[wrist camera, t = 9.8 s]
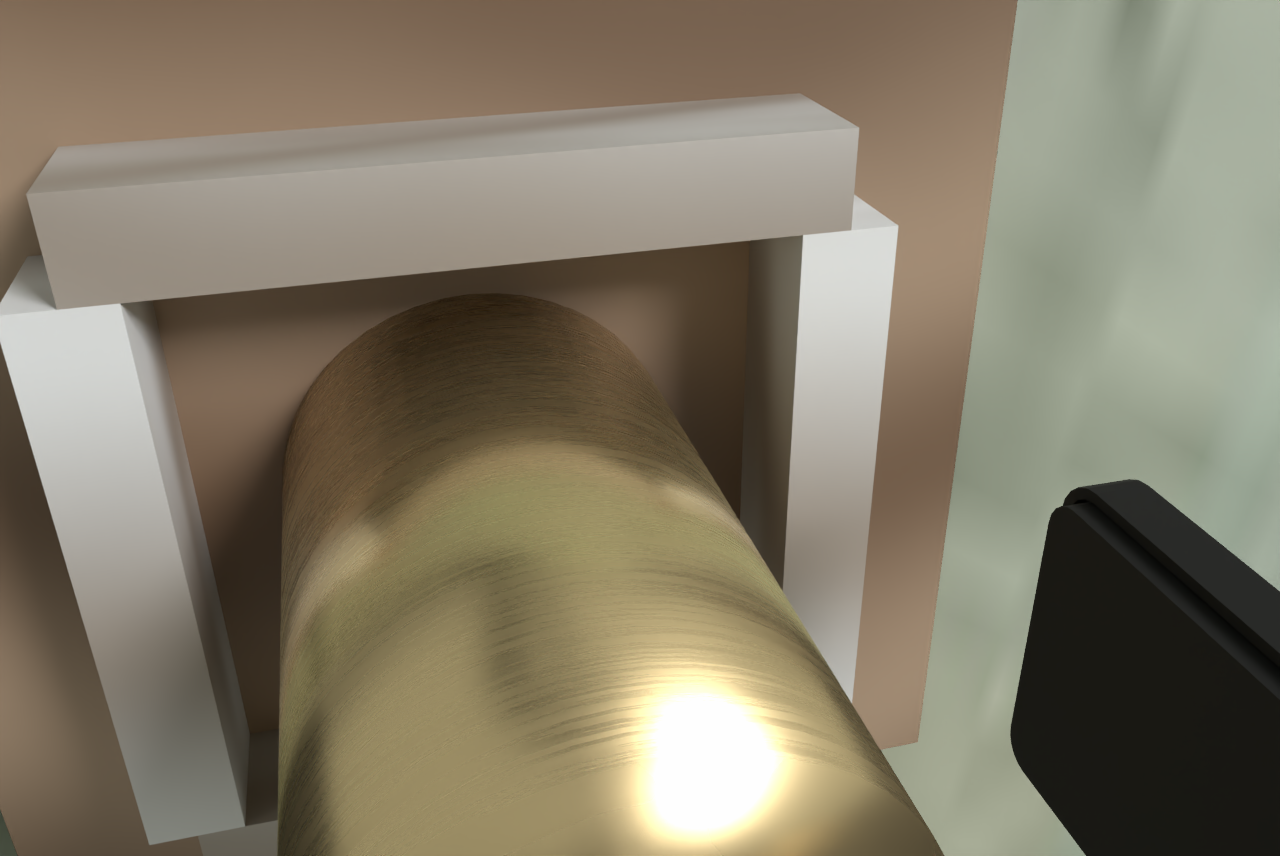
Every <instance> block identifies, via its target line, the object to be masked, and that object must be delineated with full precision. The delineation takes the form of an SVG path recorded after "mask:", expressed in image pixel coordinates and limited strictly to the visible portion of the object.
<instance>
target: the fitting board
mask: <svg viewBox="0 0 1280 856" xmlns="http://www.w3.org/2000/svg"><path fill="white" fill-rule="evenodd" d="M1017 1H1018V0H0V810H1V812H2V815H3V818H4V820H5V823H6V826H7V828H8V831H9V834H10V836H11V839H12V842H13V844H14V847H15V850H16V852H17V855H18V856H277V831H278V763H279V695H280V628H281V560H282V492H283V465H284V454H285V449H286V444H287V440H288V435H289V431H290V429H291V426H292V423H293V421H294V418H295V416H296V413H297V410H298V408H299V406H300V405H301V403H302V401H303V399H304V398H305V396H306V394H307V392H308V390H309V389H310V387H311V386H312V384H313V383H314V382H315V380H316V379H317V378H318V376H319V375H320V374H321V372H322V371H323V370H324V369H325V367H326V366H327V365H328V364H329V363H330V362H331V361H332V360H333V359H334V358H335V357H336V356H337V355H338V354H339V353H340V352H341V351H342V350H343V349H344V348H345V347H347V346H348V345H349V344H350V343H352V342H353V341H354V340H356V339H357V338H358V337H360V336H361V335H362V334H363V333H365V332H366V331H368V330H369V329H371V328H373V327H375V326H376V325H378V324H380V323H381V322H383V321H385V320H386V319H388V318H390V317H392V316H395V315H397V314H399V313H402V312H404V311H406V310H409V309H411V308H413V307H416V306H419V305H422V304H426V303H429V302H433V301H436V300H439V299H444V298H450V297H456V296H462V295H468V294H488V293H501V294H513V295H524V296H529V297H534V298H538V299H543V300H548V301H551V302H554V303H557V304H560V305H562V306H565V307H568V308H571V309H573V310H575V311H577V312H579V313H581V314H583V315H585V316H587V317H589V318H591V319H593V320H595V321H596V322H598V323H599V324H601V325H602V326H603V327H605V328H606V329H608V330H609V331H611V332H612V333H613V334H615V335H616V336H617V337H618V338H619V339H620V340H621V341H622V342H623V343H624V344H625V345H626V346H628V347H629V348H630V349H631V350H632V352H633V353H634V354H635V355H636V357H637V358H638V359H639V360H640V362H641V363H642V364H643V365H644V367H645V368H646V370H647V371H648V373H649V375H650V376H651V378H652V380H653V381H654V383H655V384H656V386H657V388H658V389H659V391H660V393H661V394H662V396H663V397H664V399H665V401H666V402H667V404H668V406H669V407H670V409H671V410H672V412H673V414H674V415H675V417H676V419H677V420H678V422H679V423H680V425H681V427H682V428H683V430H684V432H685V433H686V435H687V436H688V438H689V440H690V441H691V443H692V445H693V446H694V448H695V449H696V451H697V453H698V454H699V456H700V458H701V459H702V461H703V462H704V464H705V466H706V467H707V469H708V471H709V472H710V474H711V475H712V477H713V479H714V480H715V482H716V484H717V485H718V487H719V488H720V490H721V492H722V493H723V495H724V497H725V498H726V500H727V501H728V503H729V505H730V506H731V508H732V510H733V511H734V513H735V514H736V516H737V518H738V519H739V521H740V523H741V524H742V526H743V527H744V529H745V531H746V532H747V534H748V536H749V537H750V539H751V540H752V542H753V544H754V545H755V547H756V549H757V550H758V552H759V553H760V555H761V557H762V558H763V560H764V562H765V563H766V565H767V566H768V568H769V570H770V571H771V573H772V575H773V576H774V578H775V579H776V581H777V583H778V584H779V586H780V588H781V589H782V591H783V592H784V594H785V596H786V597H787V599H788V601H789V602H790V604H791V605H792V607H793V609H794V610H795V612H796V614H797V615H798V617H799V618H800V620H801V622H802V623H803V625H804V627H805V628H806V630H807V631H808V633H809V635H810V636H811V638H812V640H813V641H814V643H815V644H816V646H817V648H818V649H819V651H820V653H821V654H822V656H823V657H824V659H825V661H826V662H827V664H828V666H829V667H830V669H831V670H832V672H833V674H834V675H835V677H836V679H837V680H838V682H839V683H840V685H841V687H842V688H843V690H844V692H845V693H846V695H847V696H848V698H849V700H850V701H851V703H852V705H853V706H854V708H855V709H856V711H857V713H858V714H859V716H860V718H861V719H862V721H863V722H864V724H865V726H866V727H867V729H868V731H869V732H870V734H871V735H872V737H873V739H874V740H875V742H876V744H877V745H878V747H879V748H880V750H881V749H886V748H891V747H896V746H901V745H905V744H910V743H915V742H918V735H919V728H920V720H921V713H922V705H923V698H924V691H925V683H926V676H927V668H928V661H929V653H930V646H931V639H932V631H933V624H934V616H935V609H936V602H937V594H938V587H939V579H940V572H941V564H942V557H943V550H944V542H945V535H946V527H947V520H948V513H949V505H950V498H951V490H952V483H953V475H954V468H955V461H956V453H957V446H958V438H959V431H960V424H961V416H962V409H963V401H964V394H965V386H966V379H967V372H968V364H969V357H970V349H971V342H972V335H973V327H974V320H975V312H976V305H977V297H978V290H979V283H980V275H981V268H982V260H983V253H984V246H985V238H986V231H987V223H988V216H989V208H990V201H991V194H992V186H993V179H994V171H995V164H996V156H997V149H998V142H999V134H1000V127H1001V119H1002V112H1003V105H1004V97H1005V90H1006V82H1007V75H1008V67H1009V60H1010V53H1011V45H1012V38H1013V30H1014V23H1015V16H1016V8H1017Z"/></svg>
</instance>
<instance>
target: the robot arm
mask: <svg viewBox="0 0 1280 856" xmlns="http://www.w3.org/2000/svg"><path fill="white" fill-rule="evenodd" d="M1010 735H1011V744H1012V748H1013V752H1014V755H1015V757H1016V760H1017V762H1018V764H1019V766H1020V767H1021V769H1022V771H1023V772H1024V773H1025V775H1026V776H1027V777H1028V779H1029V780H1030V781H1031V783H1032V784H1033V785H1034V787H1035V788H1036V789H1037V791H1038V792H1039V793H1040V795H1041V796H1042V797H1043V799H1044V800H1045V801H1046V803H1047V804H1048V805H1049V807H1050V808H1051V809H1052V811H1053V812H1054V813H1055V815H1056V816H1057V817H1058V819H1059V820H1060V821H1061V823H1062V824H1063V825H1064V827H1065V828H1066V829H1067V831H1068V832H1069V833H1070V835H1071V836H1072V837H1073V839H1074V840H1075V841H1076V843H1077V844H1078V845H1079V847H1080V848H1081V849H1082V851H1083V852H1084V853H1085V855H1086V856H1280V591H1278V590H1277V589H1276V588H1275V587H1273V586H1272V585H1271V584H1270V583H1268V582H1267V581H1266V580H1265V579H1263V578H1262V577H1261V576H1260V575H1259V574H1257V573H1256V572H1255V571H1254V570H1252V569H1251V568H1250V567H1249V566H1247V565H1246V564H1245V563H1244V562H1242V561H1241V560H1240V559H1239V558H1237V557H1236V556H1235V555H1234V554H1232V553H1231V552H1230V551H1229V550H1227V549H1226V548H1225V547H1224V546H1223V545H1221V544H1220V543H1219V542H1218V541H1216V540H1215V539H1214V538H1213V537H1211V536H1210V535H1209V534H1208V533H1206V532H1205V531H1204V530H1203V529H1201V528H1200V527H1199V526H1198V525H1196V524H1195V523H1194V522H1193V521H1191V520H1190V519H1189V518H1188V517H1187V516H1185V515H1184V514H1183V513H1182V512H1180V511H1179V510H1178V509H1177V508H1175V507H1174V506H1173V505H1172V504H1170V503H1169V502H1168V501H1167V500H1165V499H1164V498H1163V497H1162V496H1160V495H1159V494H1158V493H1157V492H1155V491H1154V490H1153V489H1152V488H1151V487H1149V486H1148V485H1146V484H1144V483H1143V482H1141V481H1139V480H1130V479H1129V480H1123V481H1116V482H1110V483H1104V484H1097V485H1091V486H1085V487H1078V488H1076V489H1074V490H1072V491H1071V492H1070V493H1069V494H1068V496H1067V497H1066V498H1065V501H1064V504H1063V506H1061V507H1059V508H1056V509H1055V510H1054V512H1053V513H1052V514H1051V517H1050V520H1049V524H1048V529H1047V535H1046V540H1045V546H1044V551H1043V556H1042V562H1041V567H1040V573H1039V578H1038V583H1037V589H1036V594H1035V600H1034V605H1033V610H1032V616H1031V621H1030V627H1029V632H1028V637H1027V643H1026V648H1025V653H1024V659H1023V664H1022V670H1021V675H1020V680H1019V686H1018V691H1017V697H1016V702H1015V707H1014V713H1013V718H1012V724H1011V734H1010Z"/></svg>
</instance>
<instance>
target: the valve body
mask: <svg viewBox="0 0 1280 856" xmlns="http://www.w3.org/2000/svg"><path fill="white" fill-rule="evenodd" d="M277 856H944V854H943V852H942V851H941V849H940V847H939V845H938V843H937V842H936V840H935V838H934V836H933V835H932V833H931V831H930V830H929V828H928V826H927V825H926V823H925V822H924V820H923V818H922V817H921V815H920V813H919V812H918V810H917V809H916V807H915V805H914V804H913V802H912V800H911V799H910V797H909V796H908V794H907V792H906V791H905V789H904V787H903V786H902V784H901V783H900V781H899V779H898V778H897V776H896V774H895V773H894V771H893V770H892V768H891V766H890V765H889V763H888V761H887V760H886V758H885V757H884V755H883V753H882V752H881V750H880V748H879V747H878V745H877V744H876V742H875V740H874V739H873V737H872V735H871V734H870V732H869V731H868V729H867V727H866V726H865V724H864V722H863V721H862V719H861V718H860V716H859V714H858V713H857V711H856V709H855V708H854V706H853V705H852V703H851V701H850V700H849V698H848V696H847V695H846V693H845V692H844V690H843V688H842V687H841V685H840V683H839V682H838V680H837V679H836V677H835V675H834V674H833V672H832V670H831V669H830V667H829V666H828V664H827V662H826V661H825V659H824V657H823V656H822V654H821V653H820V651H819V649H818V648H817V646H816V644H815V643H814V641H813V640H812V638H811V636H810V635H809V633H808V631H807V630H806V628H805V627H804V625H803V623H802V622H801V620H800V618H799V617H798V615H797V614H796V612H795V610H794V609H793V607H792V605H791V604H790V602H789V601H788V599H787V597H786V596H785V594H784V592H783V591H782V589H781V588H780V586H779V584H778V583H777V581H776V579H775V578H774V576H773V575H772V573H771V571H770V570H769V568H768V566H767V565H766V563H765V562H764V560H763V558H762V557H761V555H760V553H759V552H758V550H757V549H756V547H755V545H754V544H753V542H752V540H751V539H750V537H749V536H748V534H747V532H746V531H745V529H744V527H743V526H742V524H741V523H740V521H739V519H738V518H737V516H736V514H735V513H734V511H733V510H732V508H731V506H730V505H729V503H728V501H727V500H726V498H725V497H724V495H723V493H722V492H721V490H720V488H719V487H718V485H717V484H716V482H715V480H714V479H713V477H712V475H711V474H710V472H709V471H708V469H707V467H706V466H705V464H704V462H703V461H702V459H701V458H700V456H699V454H698V453H697V451H696V449H695V448H694V446H693V445H692V443H691V441H690V440H689V438H688V436H687V435H686V433H685V432H684V430H683V428H682V427H681V425H680V423H679V422H678V420H677V419H676V417H675V415H674V414H673V412H672V410H671V409H670V407H669V406H668V404H667V402H666V401H665V399H664V397H663V396H662V394H661V393H660V391H659V389H658V388H657V386H656V384H655V383H654V381H653V380H652V378H651V376H650V375H649V373H648V371H647V370H646V368H645V367H644V365H643V364H642V363H641V362H640V360H639V359H638V358H637V357H636V355H635V354H634V353H633V352H632V350H631V349H630V348H629V347H628V346H626V345H625V344H624V343H623V342H622V341H621V340H620V339H619V338H618V337H617V336H616V335H615V334H613V333H612V332H611V331H609V330H608V329H606V328H605V327H603V326H602V325H601V324H599V323H598V322H596V321H595V320H593V319H591V318H589V317H587V316H585V315H583V314H581V313H579V312H577V311H575V310H573V309H571V308H568V307H565V306H562V305H560V304H557V303H554V302H551V301H548V300H543V299H538V298H534V297H529V296H524V295H513V294H501V293H488V294H468V295H462V296H456V297H450V298H444V299H439V300H436V301H433V302H429V303H426V304H422V305H419V306H416V307H413V308H411V309H409V310H406V311H404V312H402V313H399V314H397V315H395V316H392V317H390V318H388V319H386V320H385V321H383V322H381V323H380V324H378V325H376V326H375V327H373V328H371V329H369V330H368V331H366V332H365V333H363V334H362V335H361V336H360V337H358V338H357V339H356V340H354V341H353V342H352V343H350V344H349V345H348V346H347V347H345V348H344V349H343V350H342V351H341V352H340V353H339V354H338V355H337V356H336V357H335V358H334V359H333V360H332V361H331V362H330V363H329V364H328V365H327V366H326V367H325V369H324V370H323V371H322V372H321V374H320V375H319V376H318V378H317V379H316V380H315V382H314V383H313V384H312V386H311V387H310V389H309V390H308V392H307V394H306V396H305V398H304V399H303V401H302V403H301V405H300V406H299V408H298V410H297V413H296V416H295V418H294V421H293V423H292V426H291V429H290V431H289V435H288V440H287V444H286V449H285V454H284V465H283V492H282V560H281V628H280V695H279V763H278V831H277Z"/></svg>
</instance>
